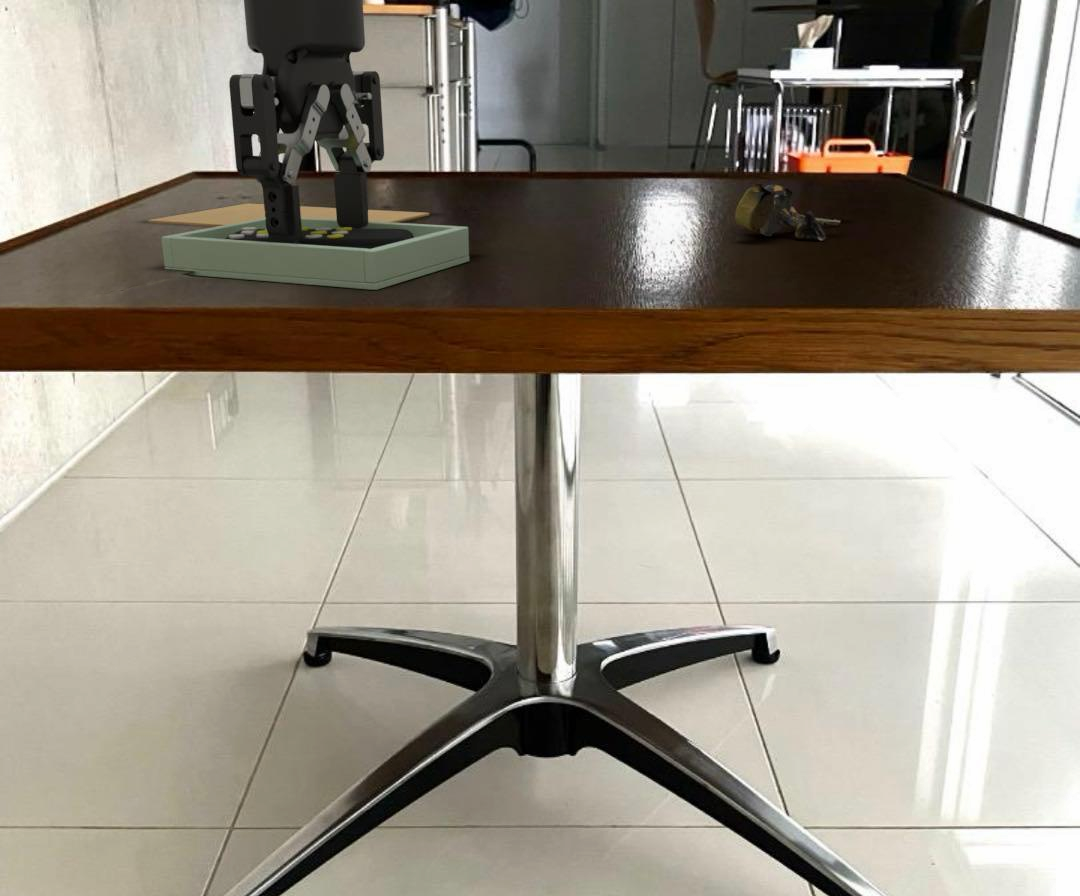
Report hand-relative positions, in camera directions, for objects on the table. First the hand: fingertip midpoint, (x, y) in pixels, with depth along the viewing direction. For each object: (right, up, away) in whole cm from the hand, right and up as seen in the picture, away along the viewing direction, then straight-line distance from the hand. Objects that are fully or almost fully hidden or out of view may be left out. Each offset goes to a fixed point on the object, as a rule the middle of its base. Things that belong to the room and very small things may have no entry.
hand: (320, 235), depth 84 cm
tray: (0, -2, +1) cm, 2 cm away
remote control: (0, -2, +1) cm, 2 cm away
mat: (-7, +7, +24) cm, 26 cm away
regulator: (+35, +4, +16) cm, 39 cm away
